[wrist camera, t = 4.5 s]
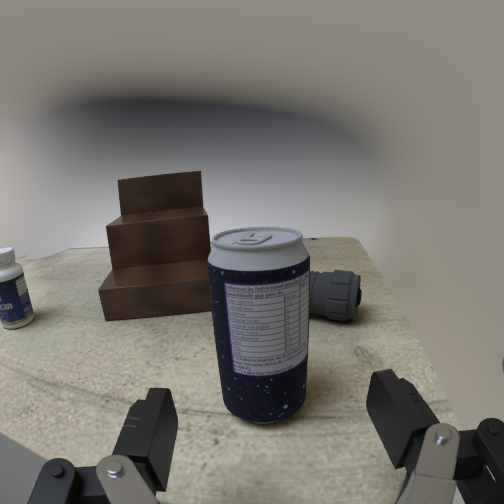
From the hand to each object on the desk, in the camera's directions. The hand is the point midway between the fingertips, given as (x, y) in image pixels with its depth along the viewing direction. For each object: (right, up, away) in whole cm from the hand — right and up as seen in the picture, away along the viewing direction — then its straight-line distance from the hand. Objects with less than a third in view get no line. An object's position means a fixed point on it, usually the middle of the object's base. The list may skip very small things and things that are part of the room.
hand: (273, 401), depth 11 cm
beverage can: (0, -5, +9) cm, 10 cm away
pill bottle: (-32, -4, +20) cm, 38 cm away
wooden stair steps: (-13, +1, +32) cm, 35 cm away
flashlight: (+3, -1, +23) cm, 24 cm away
